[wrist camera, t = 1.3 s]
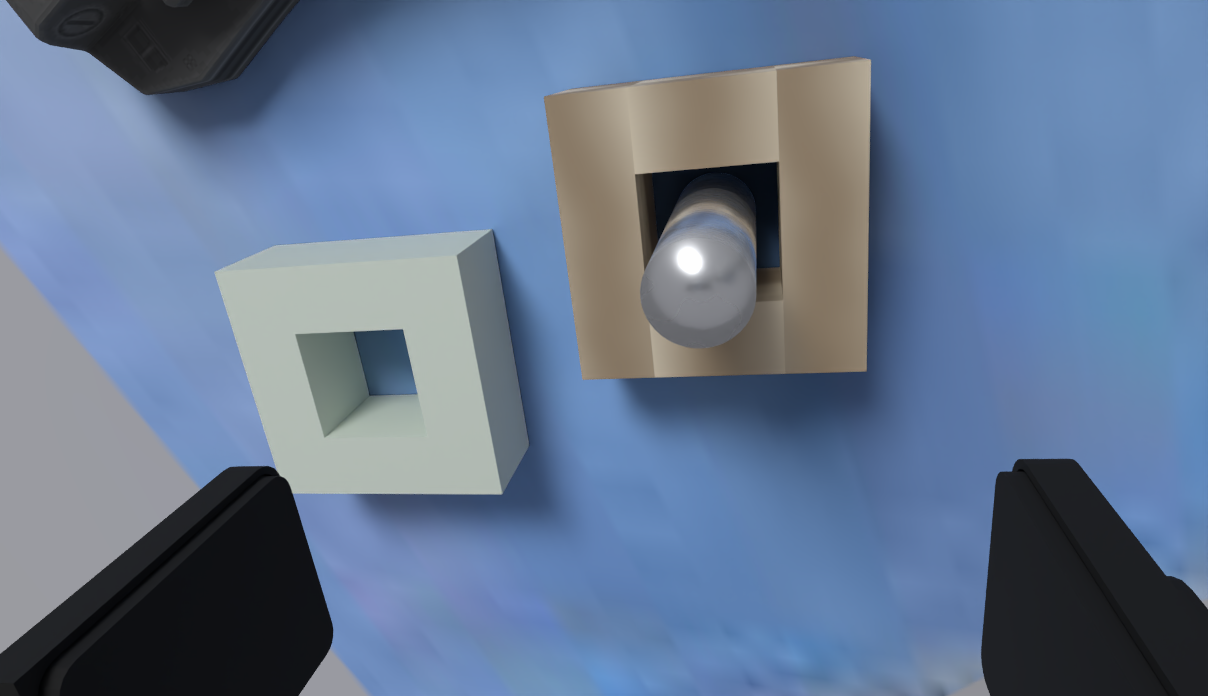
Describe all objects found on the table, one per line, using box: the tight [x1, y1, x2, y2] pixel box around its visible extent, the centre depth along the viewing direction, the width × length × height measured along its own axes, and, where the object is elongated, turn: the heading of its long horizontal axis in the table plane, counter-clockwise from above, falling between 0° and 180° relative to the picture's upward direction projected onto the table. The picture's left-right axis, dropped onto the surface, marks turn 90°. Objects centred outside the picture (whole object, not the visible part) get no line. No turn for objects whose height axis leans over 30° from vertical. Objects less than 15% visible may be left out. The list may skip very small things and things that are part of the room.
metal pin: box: [640, 172, 756, 348], centre depth 24 cm, size 3×3×10 cm
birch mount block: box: [544, 56, 871, 380], centre depth 27 cm, size 10×10×4 cm
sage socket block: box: [215, 229, 529, 494], centre depth 31 cm, size 10×10×4 cm
